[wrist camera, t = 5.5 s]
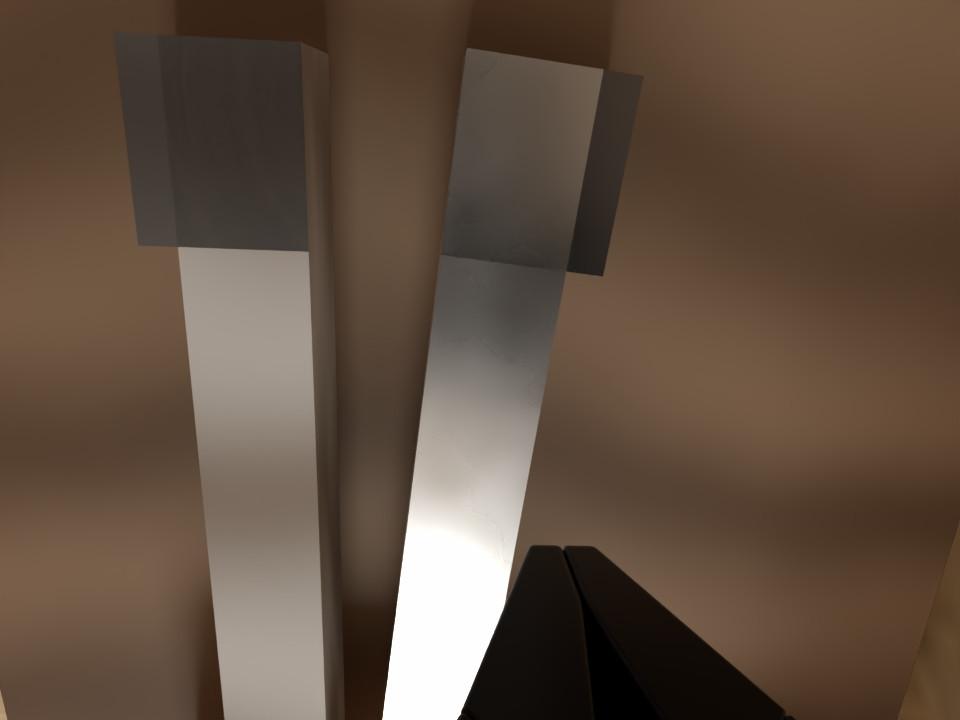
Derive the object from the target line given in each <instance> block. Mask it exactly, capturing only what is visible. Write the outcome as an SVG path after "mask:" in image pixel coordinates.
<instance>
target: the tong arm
mask: <svg viewBox="0 0 960 720" xmlns="http://www.w3.org/2000/svg"><path fill="white" fill-rule="evenodd" d="M643 78H644V76H642V75H636V74H630V73H623V72H617V71H611V70H604V69H598V68H592V67H585V66H579V65H573V64H566V63H560V62H554V61H548V60H541V59H535V58H529V57H522V56H516V55H510V54H503V53H497V52H491V51H484V50H478V49H472V48H466V52H465V55H464V59H463V67H462V75H461V83H460V91H459V99H458V108H457V116H456V124H455V132H454V140H453V148H452V156H451V164H450V172H449V180H448V188H447V196H446V204H445V212H444V221H443V229H442V237H441V245H440V253H439V261H438V269H437V277H436V285H435V293H434V301H433V309H432V317H431V326H430V334H429V342H428V350H427V358H426V366H425V374H424V382H423V390H422V398H421V406H420V414H419V422H418V430H417V439H416V447H415V455H414V463H413V471H412V479H411V487H410V495H409V503H408V511H407V519H406V527H405V535H404V544H403V552H402V560H401V568H400V576H399V584H398V592H397V600H396V608H395V616H394V624H393V632H392V640H391V648H390V657H389V665H388V673H387V681H386V689H385V698H384V707H383V716H382V720H457V718H458V716H459V715H460V712H461V709H462V707H463V704H464V702H465V700H466V697H467V695H468V692H469V690H470V688H471V685H472V683H473V680H474V678H475V675H476V673H477V671H478V668H479V666H480V663H481V661H482V659H483V656H484V654H485V651H486V649H487V647H488V644H489V642H490V639H491V637H492V634H493V632H494V630H495V627H496V625H497V622H498V620H499V618H500V615H501V613H502V610H503V608H504V605H505V599H506V594H507V588H508V583H509V578H510V572H511V567H512V561H513V556H514V551H515V545H516V540H517V534H518V529H519V524H520V518H521V513H522V507H523V502H524V497H525V491H526V486H527V480H528V475H529V470H530V464H531V459H532V454H533V448H534V443H535V437H536V432H537V427H538V421H539V416H540V410H541V405H542V400H543V394H544V389H545V383H546V378H547V373H548V367H549V362H550V356H551V351H552V346H553V340H554V335H555V329H556V324H557V319H558V313H559V308H560V302H561V297H562V292H563V286H564V281H565V275H566V272H572V273H580V274H588V275H595V276H603V274H604V269H605V265H606V260H607V255H608V250H609V245H610V240H611V235H612V230H613V225H614V220H615V215H616V210H617V206H618V201H619V196H620V191H621V186H622V181H623V176H624V171H625V166H626V161H627V156H628V151H629V147H630V142H631V137H632V132H633V127H634V122H635V117H636V112H637V107H638V102H639V97H640V92H641V88H642V83H643Z"/></svg>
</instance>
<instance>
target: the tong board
mask: <svg viewBox="0 0 960 720" xmlns="http://www.w3.org/2000/svg"><path fill="white" fill-rule="evenodd" d="M466 48H472V49H478V50H484V51H491V52H497V53H503V54H510V55H516V56H522V57H529V58H535V59H541V60H548V61H554V62H560V63H566V64H573V65H579V66H585V67H592V68H598V69H604V70H611V71H617V72H623V73H630V74H636V75H642V76H644V78H643V83H642V88H641V92H640V97H639V102H638V107H637V112H636V117H635V122H634V127H633V132H632V137H631V142H630V147H629V151H628V156H627V161H626V166H625V171H624V176H623V181H622V186H621V191H620V196H619V201H618V206H617V210H616V215H615V220H614V225H613V230H612V235H611V240H610V245H609V250H608V255H607V260H606V265H605V269H604V274H603V276H595V275H588V274H580V273H572V272H566V275H565V281H564V286H563V292H562V297H561V302H560V308H559V313H558V319H557V324H556V329H555V335H554V340H553V346H552V351H551V356H550V362H549V367H548V373H547V378H546V383H545V389H544V394H543V400H542V405H541V410H540V416H539V421H538V427H537V432H536V437H535V443H534V448H533V454H532V459H531V464H530V470H529V475H528V480H527V486H526V491H525V497H524V502H523V507H522V513H521V518H520V524H519V529H518V534H517V540H516V545H515V551H514V556H513V561H512V567H511V572H510V578H509V583H508V588H507V594H506V599H505V603H506V601H507V598H508V596H509V594H510V591H511V589H512V586H513V584H514V581H515V579H516V577H517V574H518V572H519V569H520V567H521V565H522V562H523V560H524V557H525V555H526V553H527V550H528V548H529V547H530V546H531V545H557V546H559V547H561V548H562V549H563V547H565V546H593V547H595V548H597V549H598V550H599V551H601V552H602V553H603V554H604V555H605V556H606V557H608V558H609V559H610V560H611V561H612V562H613V563H615V564H616V565H617V566H618V567H619V568H620V569H622V570H623V571H624V572H625V573H626V574H627V575H629V576H630V577H631V578H632V579H633V580H634V581H636V582H637V583H638V584H639V585H640V586H641V587H642V588H644V589H645V590H646V591H647V592H648V593H649V594H651V595H652V596H653V597H654V598H655V599H656V600H658V601H659V602H660V603H661V604H662V605H663V606H665V607H666V608H667V609H668V610H669V611H670V612H672V613H673V614H674V615H675V616H676V617H677V618H679V619H680V620H681V621H682V622H683V623H684V624H686V625H687V626H688V627H689V628H690V629H691V630H693V631H694V632H695V633H696V634H697V635H698V636H700V637H701V638H702V639H703V640H704V641H705V642H707V643H708V644H709V645H710V646H711V647H712V648H714V649H715V650H716V651H717V652H718V653H719V654H721V655H722V656H723V657H724V658H725V659H726V660H728V661H729V662H730V663H731V664H732V665H733V666H735V667H736V668H737V669H738V670H739V671H740V672H742V673H743V674H744V675H745V676H746V677H747V678H748V679H750V680H751V681H752V682H753V683H754V684H755V685H757V686H758V687H759V688H760V689H761V690H762V691H764V692H765V693H766V694H767V695H768V696H769V697H771V698H772V699H773V700H774V701H775V702H776V703H778V704H779V705H780V706H781V707H782V708H783V709H784V710H785V711H786V716H787V715H791V716H793V717H794V718H795V719H797V720H897V718H898V714H899V711H900V708H901V705H902V702H903V698H904V695H905V692H906V689H907V686H908V683H909V679H910V676H911V673H912V670H913V667H914V664H915V660H916V657H917V654H918V651H919V648H920V644H921V641H922V638H923V635H924V632H925V629H926V625H927V622H928V619H929V616H930V613H931V610H932V606H933V603H934V600H935V597H936V594H937V590H938V587H939V584H940V581H941V578H942V575H943V571H944V568H945V565H946V562H947V559H948V556H949V552H950V549H951V546H952V543H953V540H954V536H955V533H956V530H957V527H958V524H959V521H960V0H0V689H1V693H2V698H3V702H4V706H5V711H6V715H7V719H8V720H382V716H383V707H384V698H385V689H386V681H387V673H388V665H389V657H390V648H391V640H392V632H393V624H394V616H395V608H396V600H397V592H398V584H399V576H400V568H401V560H402V552H403V544H404V535H405V527H406V519H407V511H408V503H409V495H410V487H411V479H412V471H413V463H414V455H415V447H416V439H417V430H418V422H419V414H420V406H421V398H422V390H423V382H424V374H425V366H426V358H427V350H428V342H429V334H430V326H431V317H432V309H433V301H434V293H435V285H436V277H437V269H438V261H439V253H440V245H441V237H442V229H443V221H444V212H445V204H446V196H447V188H448V180H449V172H450V164H451V156H452V148H453V140H454V132H455V124H456V116H457V108H458V99H459V91H460V83H461V75H462V67H463V59H464V55H465V52H466ZM504 606H505V605H504ZM785 718H786V717H785Z"/></svg>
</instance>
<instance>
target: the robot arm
mask: <svg viewBox="0 0 960 720" xmlns="http://www.w3.org/2000/svg"><path fill="white" fill-rule="evenodd" d="M785 717H786V718H785ZM457 720H797V719H795V718H794V717H793V716H791V715H787V716H786V711H785V710H784V709H783V708H782V707H781V706H780V705H779V704H778V703H776V702H775V701H774V700H773V699H772V698H771V697H769V696H768V695H767V694H766V693H765V692H764V691H762V690H761V689H760V688H759V687H758V686H757V685H755V684H754V683H753V682H752V681H751V680H750V679H748V678H747V677H746V676H745V675H744V674H743V673H742V672H740V671H739V670H738V669H737V668H736V667H735V666H733V665H732V664H731V663H730V662H729V661H728V660H726V659H725V658H724V657H723V656H722V655H721V654H719V653H718V652H717V651H716V650H715V649H714V648H712V647H711V646H710V645H709V644H708V643H707V642H705V641H704V640H703V639H702V638H701V637H700V636H698V635H697V634H696V633H695V632H694V631H693V630H691V629H690V628H689V627H688V626H687V625H686V624H684V623H683V622H682V621H681V620H680V619H679V618H677V617H676V616H675V615H674V614H673V613H672V612H670V611H669V610H668V609H667V608H666V607H665V606H663V605H662V604H661V603H660V602H659V601H658V600H656V599H655V598H654V597H653V596H652V595H651V594H649V593H648V592H647V591H646V590H645V589H644V588H642V587H641V586H640V585H639V584H638V583H637V582H636V581H634V580H633V579H632V578H631V577H630V576H629V575H627V574H626V573H625V572H624V571H623V570H622V569H620V568H619V567H618V566H617V565H616V564H615V563H613V562H612V561H611V560H610V559H609V558H608V557H606V556H605V555H604V554H603V553H602V552H601V551H599V550H598V549H597V548H595V547H593V546H565V547H563V549H562V548H561V547H559V546H557V545H531V546H530V547H529V548H528V550H527V553H526V555H525V557H524V560H523V562H522V565H521V567H520V569H519V572H518V574H517V577H516V579H515V581H514V584H513V586H512V589H511V591H510V594H509V596H508V598H507V601H506V603H505V606H504V608H503V610H502V613H501V615H500V618H499V620H498V622H497V625H496V627H495V630H494V632H493V634H492V637H491V639H490V642H489V644H488V647H487V649H486V651H485V654H484V656H483V659H482V661H481V663H480V666H479V668H478V671H477V673H476V675H475V678H474V680H473V683H472V685H471V688H470V690H469V692H468V695H467V697H466V700H465V702H464V704H463V707H462V709H461V712H460V715H459V716H458V718H457Z"/></svg>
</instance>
